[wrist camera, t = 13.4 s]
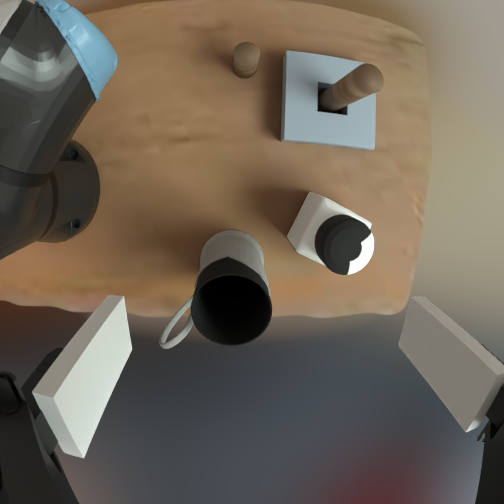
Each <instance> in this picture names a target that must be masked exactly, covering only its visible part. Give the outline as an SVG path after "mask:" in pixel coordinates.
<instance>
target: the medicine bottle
mask: <svg viewBox="0 0 504 504" xmlns="http://www.w3.org/2000/svg"><path fill="white" fill-rule="evenodd" d="M371 225H372V224H371V223H370V222H369V221H367V220H366V219H364V218H362V217H360V216H359V215H357V214H355V213H353V212H352V211H350V210H348V209H346V208H344V207H343V206H341V205H339V204H337V203H335V202H334V201H332V200H330V199H328V198H326V197H324V196H321V195H318V194H316V193H313V192H309V193H308V195H307V197H306V199H305V201H304V203H303V205H302V207H301V209H300V211H299V213H298V215H297V217H296V219H295V221H294V223H293V225H292V227H291V229H290V231H289V233H288V235H287V239H288V240H289V242H290V243H291V245H292V246H293V248H294V249H295V251H296V252H297V253H299V254H301V255H303V256H305V257H308V258H310V259H312V260H314V261H316V262H318V263H320V264H323V265H325V266H327V268H328V269H330V270H331V271H332V272H334V273H337V274H341V275H348V274H353V273H355V272H357V271H359V270H361V269H362V268H363V267H364V266H365V265H366V264H367V263H368V262H369V260H370V258H371V256H372V253H373V249H374V239H373V235H372V232H371V230H370V228H371Z"/></svg>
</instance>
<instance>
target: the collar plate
mask: <svg viewBox="0 0 504 504" xmlns="http://www.w3.org/2000/svg"><path fill="white" fill-rule="evenodd" d="M361 64H365V63H362V62H357V61H352V60H347V59H342V58H337V57H331V56H325V55H319V54H312V53H305V52H297V51H288V50H287V51H286V53H285V55H284V57H283V83H282V115H281V141H282V142H295V143H307V144H318V145H328V146H337V147H345V148H353V149H360V150H375V113H376V95H375V93H374V94H371V95H369V96H367V97H364V98H362V99H360V100H358V101H356V102H353V103H351V104H349V105H347V106H345V107H343V108H341V109H340V114H334V113H326V112H318V111H317V105H318V88H322V89H328V88H329V87H330V86H332V85H333V84H334V83H336V82H337V81H339V80H340V79H341V78H343V77H344V76H345V75H347V74H348V73H350V72H351V71H352V70H354V69H355V68H357V67H358V66H360V65H361ZM374 66H375V65H374Z"/></svg>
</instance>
